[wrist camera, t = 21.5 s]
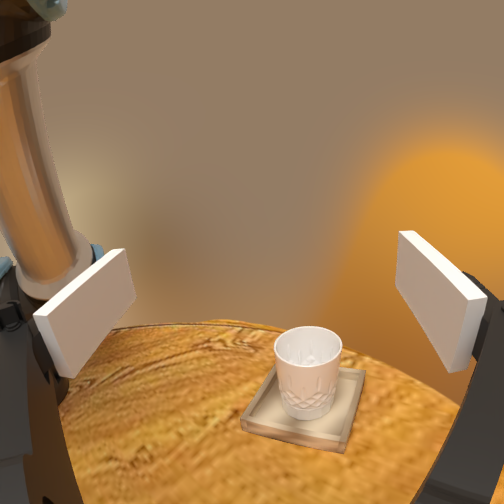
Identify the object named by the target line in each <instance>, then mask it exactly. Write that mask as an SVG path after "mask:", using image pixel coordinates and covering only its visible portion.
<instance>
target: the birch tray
mask: <svg viewBox="0 0 504 504" xmlns="http://www.w3.org/2000/svg"><path fill="white" fill-rule="evenodd" d="M365 373H366V370H358V369H351V368H343V367H339V374H338V380H337V385H336V390H335V394H334V400H333V404H332V406H331V409H330V411H329V412H328V413H326V414H325V415H324V416H322V417H321V418H318V419H314V420H310V421H307V420H297V419H295V418H293V417H291V416H289V415H288V414H287V413H286V412H285V410H284V409H283V407H282V398H281V393H280V389H279V383H278V377H277V369H276V363H275V365H274V366H273V368H272V370H271V371H270V373H269V374H268V376H267V378H266V379H265V381H264V382H263V384H262V385H261V387H260V389H259V390H258V392H257V393H256V395H255V396H254V398H253V399H252V401H251V403H250V404H249V406H248V407H247V409H246V410H245V412H244V413H243V415H242V416H241V418H240V421H241V426H242V430H243V431H247V432H250V433H253V434H257V435H261V436H264V437H268V438H272V439H276V440H280V441H284V442H288V443H292V444H296V445H301V446H305V447H310V448H315V449H320V450H325V451H330V452H336V453H341V454H344V451H345V448H346V445H347V442H348V438H349V435H350V432H351V429H352V425H353V422H354V418H355V415H356V411H357V408H358V404H359V400H360V397H361V393H362V389H363V385H364V380H365Z"/></svg>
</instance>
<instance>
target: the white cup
mask: <svg viewBox="0 0 504 504" xmlns="http://www.w3.org/2000/svg"><path fill="white" fill-rule="evenodd" d="M341 352H342V341H341V339H340V338H339V336H338V335H336V334H335V333H334V332H332V331H330V330H328V329H325V328H322V327H316V326H304V327H297V328H294V329H291V330H288V331H286V332H284V333H283V334H281V335H280V336H279V337H278V338H277V339H276V341H275V343H274V353H275V361H276V369H277V377H278V383H279V389H280V393H281V398H282V407H283V409H284V410H285V412H286V413H287V414H288V415H289V416H291V417H293V418H295V419H297V420H307V421H310V420H314V419H318V418H321V417H322V416H324V415H325V414H326V413H328V412H329V411H330V409H331V406H332V404H333V400H334V394H335V390H336V385H337V380H338V374H339V367H340V359H341Z"/></svg>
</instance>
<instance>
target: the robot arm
mask: <svg viewBox="0 0 504 504" xmlns="http://www.w3.org/2000/svg"><path fill="white" fill-rule="evenodd" d="M66 10H67V0H0V231H1V233H2V235H3V237H4V238H5V240H6V242H7V244H8V246H9V248H10V250H11V251H12V253H13V255H14V257H15V258H16V260H17V264H16V266H13V261H11V259H10V258H9V257H1V258H0V504H84V503H83V500H82V497H81V494H80V491H79V488H78V485H77V482H76V479H75V475H74V472H73V469H72V465H71V462H70V458H69V454H68V451H67V447H66V443H65V439H64V434H63V430H62V425H61V421H60V416H59V411H58V405H59V404H60V402H61V401H62V400H63V399H64V397H65V395H66V393H67V390H68V385H69V382H68V378H72V379H74V378H75V377H76V376H77V374H78V373H79V372H80V370H81V369H82V368H83V366H84V365H85V364H86V362H87V361H88V360H89V358H90V357H91V356H92V354H93V353H94V352H95V350H96V349H97V348H98V346H99V345H100V344H101V343H102V341H103V340H104V339H105V337H106V336H107V335H108V333H109V332H110V331H111V330H112V328H113V327H114V326H115V325H116V323H117V322H118V321H119V319H120V318H121V317H122V316H123V314H124V313H125V312H126V311H127V309H128V308H129V307H130V306H131V304H132V303H133V302H134V301H135V300H136V298H137V297H136V293H135V289H134V285H133V281H132V277H131V273H130V269H129V265H128V260H127V256H126V251H125V249H112V250H111V251H110V252H108V253H107V254H106V255H104V251H103V248H102V246H100V245H98V244H97V245H94V244H90V243H89V242H88V240H87V239H86V237H85V236H84V235H82V234H81V233H80V232H78V231H76V230H73V227H72V224H71V221H70V217H69V214H68V211H67V208H66V204H65V201H64V198H63V194H62V191H61V187H60V184H59V180H58V176H57V172H56V168H55V164H54V160H53V156H52V152H51V147H50V143H49V139H48V134H47V128H46V123H45V118H44V113H43V107H42V101H41V94H40V88H39V80H38V72H37V64H36V61H37V57H38V56H39V54H40V53H41V52H42V50H43V49H44V47H45V46H46V45H47V44H48V42H49V41H50V39H51V29H50V28H51V27H50V21H56V20H57V19H58V18H61V17H62V16H64V14H65V13H66ZM395 286H396V288H397V289H398V291H399V292H400V294H401V295H402V297H403V298H404V300H405V301H406V303H407V305H408V306H409V308H410V309H411V311H412V312H413V314H414V316H415V317H416V319H417V320H418V322H419V324H420V325H421V327H422V328H423V330H424V332H425V333H426V335H427V337H428V338H429V340H430V342H431V343H432V345H433V347H434V348H435V350H436V352H437V354H438V355H439V357H440V359H441V360H442V362H443V364H444V366H445V367H446V369H447V371H448V373H452V372H457V371H461V370H465V369H467V368H468V365H469V362H470V359H471V356H472V355H473V356H474V358H475V359H476V361H477V364H476V367H475V369H474V372H473V375H472V377H471V380H470V383H469V385H468V389H467V391H466V394H465V396H464V399H463V402H462V404H461V406H460V409H459V411H458V414H457V416H456V418H455V420H454V423H453V425H452V427H451V429H450V432H449V434H448V436H447V438H446V440H445V442H444V444H443V446H442V448H441V450H440V452H439V454H438V456H437V458H436V460H435V462H434V463H433V465H432V467H431V469H430V471H429V473H428V474H427V476H426V478H425V480H424V481H423V483H422V485H421V486H420V488H419V490H418V491H417V493H416V495H415V496H414V498H413V499H412V501H411V502H410V504H490V501H491V498H492V496H493V493H494V490H495V488H496V485H497V482H498V479H499V476H500V473H501V470H502V467H503V464H504V300H503V301H499V300H498V299H497V298H496V297H495V296H494V295H493V294H492V293H491V292H490V291H489V290H488V289H485V286H483V285H482V284H480V282H479V281H478V280H477V279H476V278H475V277H474V276H472V275H470V274H468V273H465V272H464V271H463V272H461V271H460V270H459V269H457V268H456V267H455V266H454V265H453V264H452V263H451V262H450V261H449V260H447V259H446V258H445V257H444V256H443V255H442V254H441V253H439V252H438V251H437V250H436V249H434V247H432V246H431V245H430V244H429V243H428V242H426V241H425V240H424V239H423V238H422V237H420V236H419V235H418V234H417V233H416V232H414V231H399V237H398V255H397V269H396V280H395Z"/></svg>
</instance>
